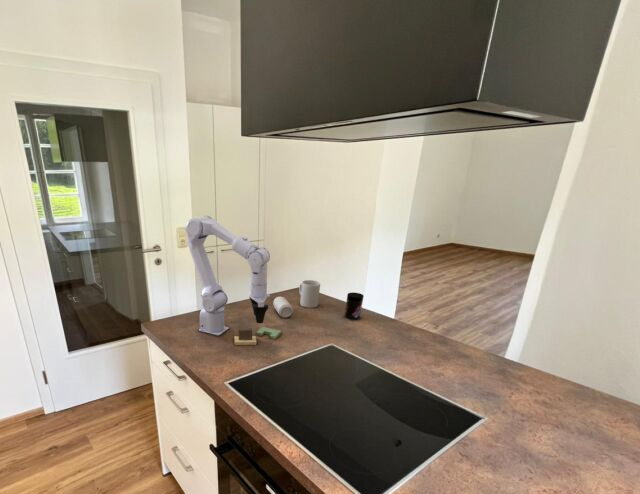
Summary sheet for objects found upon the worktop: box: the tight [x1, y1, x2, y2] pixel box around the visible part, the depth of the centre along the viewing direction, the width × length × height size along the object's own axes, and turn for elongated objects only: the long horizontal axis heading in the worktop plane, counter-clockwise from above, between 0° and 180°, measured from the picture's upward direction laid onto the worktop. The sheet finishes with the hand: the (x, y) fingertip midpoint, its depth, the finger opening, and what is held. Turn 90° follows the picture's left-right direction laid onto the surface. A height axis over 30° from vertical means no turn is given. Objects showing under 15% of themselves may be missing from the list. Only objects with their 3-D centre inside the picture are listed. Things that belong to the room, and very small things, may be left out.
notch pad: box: [255, 326, 282, 340], centre depth 141 cm, size 8×6×1 cm
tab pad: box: [234, 327, 257, 346], centre depth 135 cm, size 8×8×5 cm
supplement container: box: [344, 292, 364, 321], centre depth 157 cm, size 7×7×10 cm
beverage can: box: [272, 295, 294, 319], centre depth 160 cm, size 6×6×12 cm
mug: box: [298, 279, 321, 309], centre depth 171 cm, size 12×8×11 cm
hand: (258, 318), depth 132 cm, fingers open, 7 cm apart
